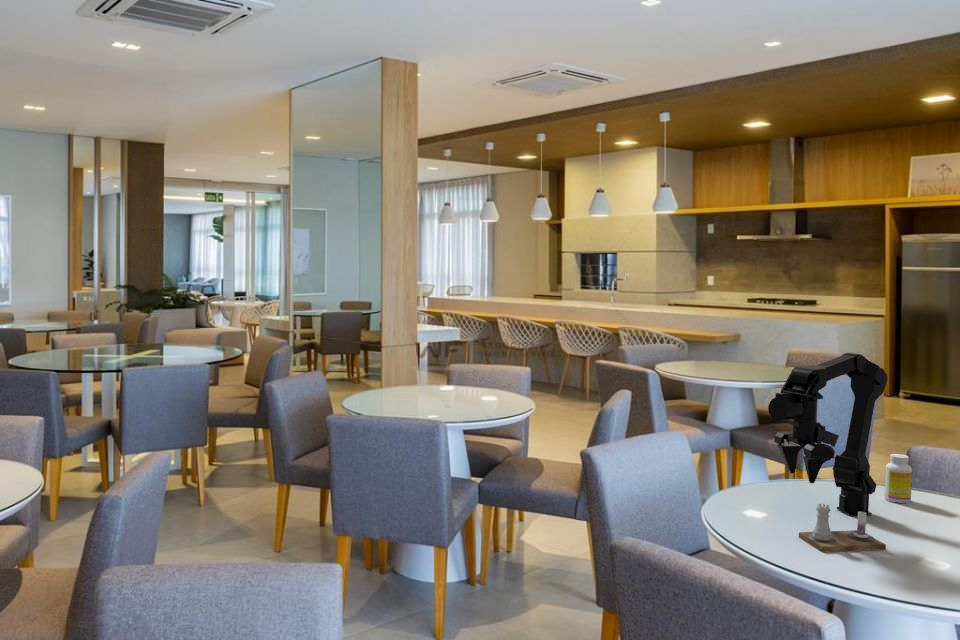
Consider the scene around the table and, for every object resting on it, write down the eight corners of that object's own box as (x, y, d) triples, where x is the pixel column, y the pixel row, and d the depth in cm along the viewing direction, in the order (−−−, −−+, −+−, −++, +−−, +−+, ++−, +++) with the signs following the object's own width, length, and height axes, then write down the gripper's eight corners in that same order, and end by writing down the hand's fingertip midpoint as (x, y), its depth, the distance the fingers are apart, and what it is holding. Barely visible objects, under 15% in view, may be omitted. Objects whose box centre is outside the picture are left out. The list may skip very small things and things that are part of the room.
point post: (863, 534, 193) (864, 510, 192) (871, 539, 189) (872, 514, 189) (850, 535, 192) (851, 510, 192) (858, 539, 189) (859, 514, 189)
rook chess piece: (817, 541, 187) (819, 508, 187) (808, 535, 192) (809, 502, 191) (835, 541, 187) (837, 508, 187) (826, 535, 192) (827, 502, 191)
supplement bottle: (915, 504, 222) (917, 458, 222) (891, 503, 223) (893, 458, 222) (903, 497, 229) (905, 453, 228) (879, 496, 229) (881, 452, 228)
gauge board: (859, 534, 196) (859, 529, 196) (885, 549, 186) (885, 544, 186) (798, 537, 194) (798, 531, 194) (821, 552, 184) (821, 546, 184)
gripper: (856, 424, 194) (853, 487, 195) (814, 410, 212) (811, 468, 213) (813, 424, 192) (810, 488, 193) (774, 410, 211) (772, 469, 212)
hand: (802, 478), depth 203 cm, fingers open, 9 cm apart
